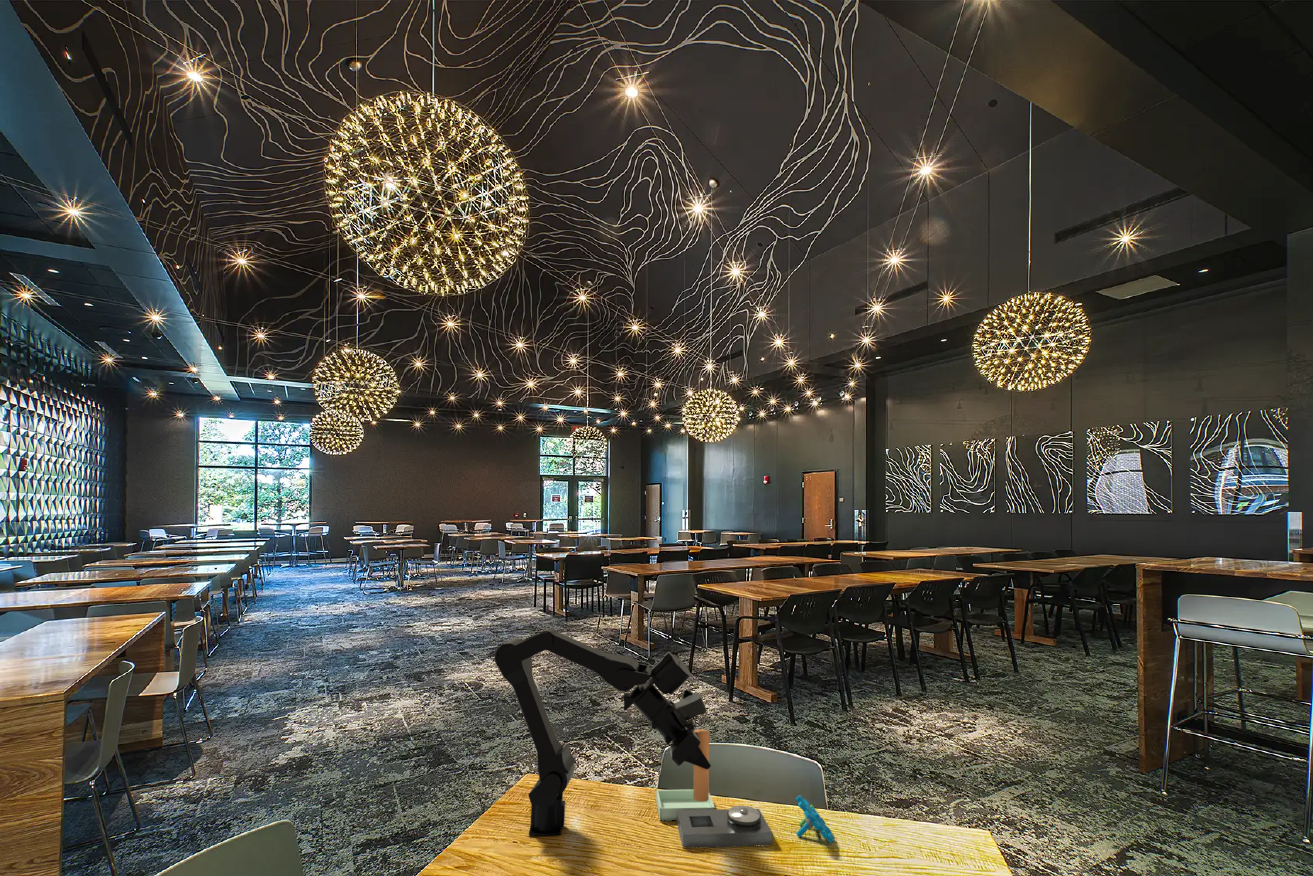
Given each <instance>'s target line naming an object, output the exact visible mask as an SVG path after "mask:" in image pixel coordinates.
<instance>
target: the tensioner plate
mask: <svg viewBox="0 0 1313 876" xmlns="http://www.w3.org/2000/svg"><path fill="white" fill-rule="evenodd" d="M676 825H677V826H678V827H677V831H678V830H679V831H678V834H680V835H679V839H680V838H681V839H680V842H682V843H681V847H682V846H683V847H694V848H693V849H697V848H696V847H698V849H700V848H699V847H702V848H703V847H708V848H738V847H737V846H747V847H762V846H761V845H764V846H763V847H766V846H765V845H772V846H773V831H772V829H771V828H770V826H769V825H768V822H767V820H766V819H765V817H764V815H763V814H762V811H761V810H760V808H754V807H753V806H748V805H734V806H731V807H730V808H728V809H725V808H724V809H715V810H677V821H676ZM756 845H757V846H756ZM758 845H760V846H758ZM734 846H736V847H734ZM683 847H682V848H683Z"/></svg>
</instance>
